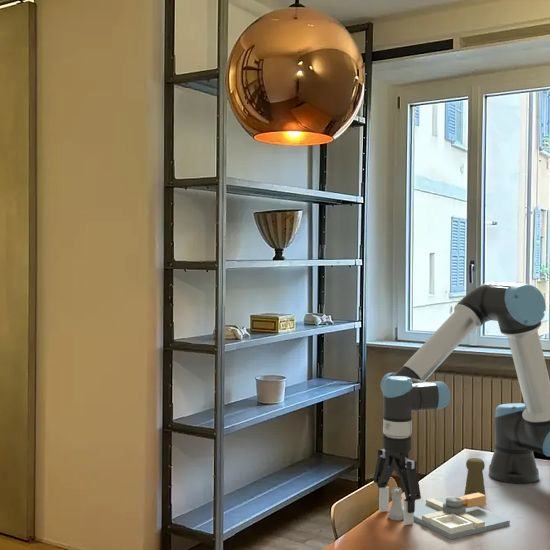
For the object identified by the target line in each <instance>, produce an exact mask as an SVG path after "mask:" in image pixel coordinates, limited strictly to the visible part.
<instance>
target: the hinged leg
mask: <svg viewBox="0 0 550 550" xmlns="http://www.w3.org/2000/svg"><path fill="white" fill-rule="evenodd" d="M486 501H487V494H485V495H483V494H481V493H479V492H478V493H473V494H469V495H461V496H459V497H456V496H454V497H448V498H446V505H447V506H449V507H453V508H459V507H462V506H463V504H464V505H465V506H466V508H471V507H476V506H478V507H480V506H484V505H486V503H487V502H486Z"/></svg>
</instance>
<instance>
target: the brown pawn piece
mask: <svg viewBox="0 0 550 550" xmlns="http://www.w3.org/2000/svg"><path fill="white" fill-rule="evenodd" d="M465 466H466V469H467V474H466V481H465V489H464V495H469V494H473V493H478V492H479V493H481V494H483V495H486V489H485V479H484V472H483V471H484V470H485V462H484V460H483V459H481V458H478V457H471V458H468V459H467V460H466V462H465ZM464 495H463V496H464Z"/></svg>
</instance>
